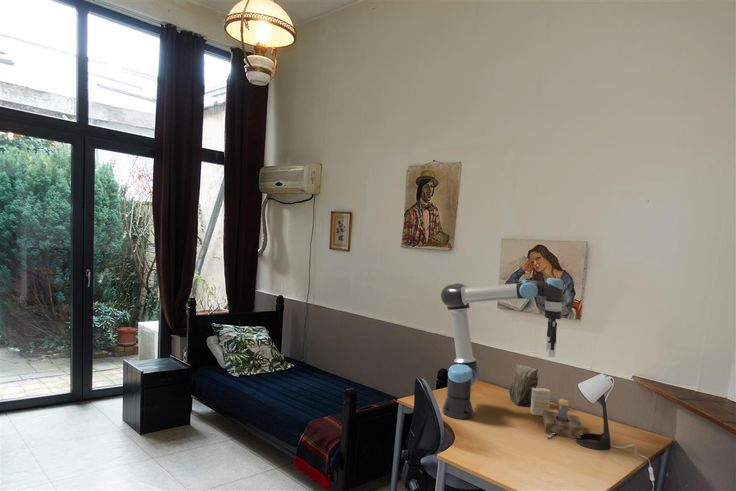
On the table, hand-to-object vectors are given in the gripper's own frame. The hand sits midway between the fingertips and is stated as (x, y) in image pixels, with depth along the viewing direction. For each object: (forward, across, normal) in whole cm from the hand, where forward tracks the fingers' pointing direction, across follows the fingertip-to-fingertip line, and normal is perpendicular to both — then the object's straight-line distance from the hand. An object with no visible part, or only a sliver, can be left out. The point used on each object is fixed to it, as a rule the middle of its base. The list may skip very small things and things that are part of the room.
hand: (550, 353), depth 222 cm
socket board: (+35, -4, -7) cm, 36 cm away
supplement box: (+35, +12, +2) cm, 37 cm away
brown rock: (+35, +26, +11) cm, 45 cm away
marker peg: (+35, -4, -7) cm, 36 cm away
